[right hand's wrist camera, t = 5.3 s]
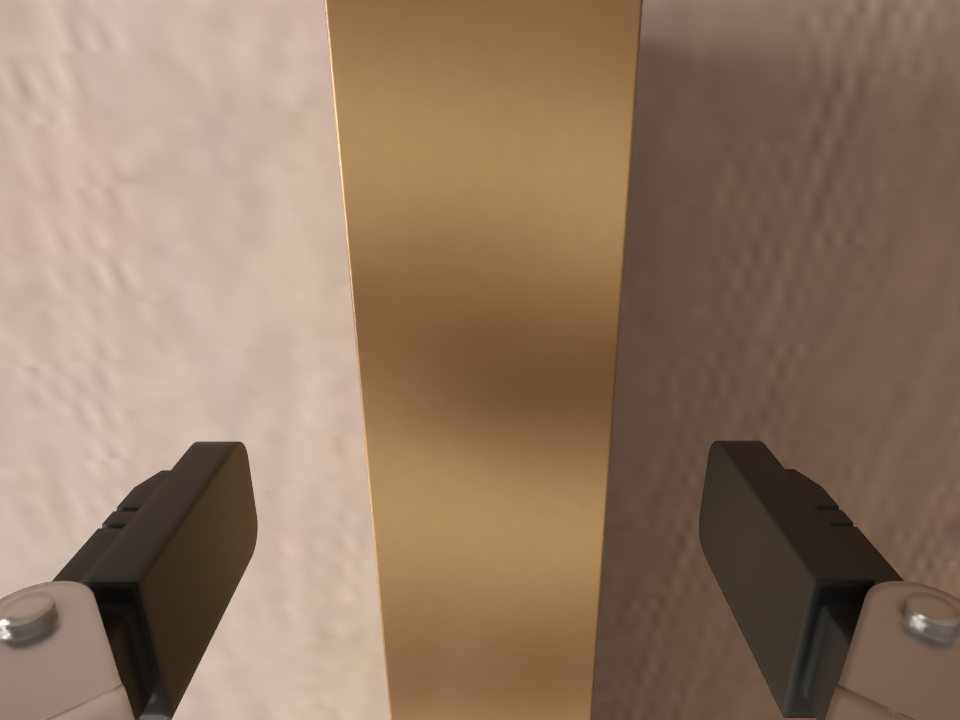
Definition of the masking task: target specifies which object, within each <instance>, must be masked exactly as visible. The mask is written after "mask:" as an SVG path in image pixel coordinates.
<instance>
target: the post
mask: <svg viewBox="0 0 960 720" xmlns="http://www.w3.org/2000/svg"><path fill="white" fill-rule="evenodd" d="M324 2H325V13H326V24H327V35H328V45H329V56H330V67H331V78H332V89H333V100H334V111H335V122H336V133H337V144H338V155H339V165H340V176H341V187H342V198H343V209H344V220H345V231H346V242H347V253H348V264H349V275H350V286H351V296H352V307H353V318H354V329H355V340H356V351H357V362H358V373H359V384H360V395H361V406H362V417H363V427H364V438H365V449H366V460H367V471H368V482H369V493H370V504H371V515H372V526H373V537H374V547H375V558H376V569H377V580H378V591H379V602H380V613H381V624H382V635H383V646H384V657H385V668H386V678H387V689H388V700H389V711H390V720H591V714H592V700H593V687H594V673H595V659H596V645H597V631H598V617H599V603H600V589H601V575H602V561H603V547H604V533H605V520H606V506H607V492H608V478H609V464H610V450H611V436H612V422H613V408H614V394H615V380H616V366H617V353H618V339H619V325H620V311H621V297H622V283H623V269H624V255H625V241H626V227H627V213H628V199H629V186H630V172H631V158H632V144H633V130H634V116H635V102H636V88H637V74H638V60H639V46H640V32H641V19H642V5H643V0H325V1H324Z"/></svg>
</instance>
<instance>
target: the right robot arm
mask: <svg viewBox="0 0 960 720" xmlns="http://www.w3.org/2000/svg"><path fill="white" fill-rule="evenodd" d="M257 526H258V525H257V514H256V507H255V501H254V494H253V487H252V481H251V474H250V467H249V460H248V454H247V450H246V448H245V446H244V444H243V443H242V442H195V443H194V444H193V445H191V447H190V448H189V449H188V450H187V452H186V453H185V454H184V455H183V456H182V458H181V459H180V460H179V461H178V462H177V464H176V465H175V466H174V467H173V469H172V470H171V471H160V472H159V473H157V474H155V475H154V476H152V477H151V478H149V479H147V480H146V481H144V482H143V483H141V484H139V485H138V486H136V487H135V488H134V489H133V490H132V491H131V492H130V493H129V494H128V495H127V497H126V498H125V499H124V500H123V501H122V502H121V503H120V505H119V506H118V507H117V511H116V512H113V513H112V514H111V515H110V516H109V517H108V518H107V519H106V520H105V522H104V523H103V524H102V529H98V530H97V531H96V532H95V533H94V534H93V535H92V536H91V537H90V539H89V540H88V541H87V542H86V543H85V544H84V545H83V547H82V548H81V549H80V550H79V551H78V552H77V553H76V555H75V556H74V557H73V558H72V559H71V560H70V561H69V562H68V564H67V565H66V566H65V567H64V568H63V569H62V570H61V572H60V573H59V574H58V575H57V576H56V577H55V578H54V580H53V581H52V582H46V583H42V584H37V585H34V586H30V587H27V588H24V589H22V590H19V591H17V592H14V593H12V594H10V595H8V596H6V597H4V598H2V599H0V720H171V719H172V717H173V715H174V713H175V711H176V709H177V707H178V705H179V703H180V701H181V699H182V697H183V695H184V693H185V691H186V689H187V687H188V685H189V683H190V681H191V679H192V677H193V675H194V673H195V671H196V669H197V667H198V665H199V663H200V661H201V659H202V657H203V655H204V653H205V651H206V649H207V647H208V645H209V643H210V641H211V638H212V636H213V634H214V632H215V630H216V628H217V626H218V624H219V622H220V620H221V618H222V616H223V614H224V612H225V610H226V608H227V606H228V604H229V602H230V600H231V598H232V596H233V594H234V592H235V590H236V588H237V586H238V584H239V582H240V580H241V578H242V576H243V574H244V572H245V570H246V568H247V566H248V564H249V562H250V560H251V557H252V555H253V552H254V549H255V545H256V540H257ZM699 532H700V540H701V545H702V549H703V552H704V555H705V557H706V559H707V561H708V563H709V565H710V567H711V569H712V571H713V573H714V576H715V578H716V580H717V582H718V584H719V586H720V588H721V590H722V592H723V594H724V596H725V598H726V600H727V602H728V604H729V606H730V608H731V610H732V612H733V614H734V616H735V619H736V621H737V623H738V625H739V627H740V629H741V631H742V633H743V635H744V637H745V639H746V641H747V643H748V645H749V647H750V649H751V651H752V653H753V655H754V657H755V660H756V662H757V664H758V666H759V668H760V670H761V672H762V674H763V676H764V678H765V680H766V682H767V684H768V686H769V688H770V690H771V692H772V694H773V696H774V698H775V700H776V703H777V705H778V707H779V709H780V711H781V713H782V715H783V717H784V718H816V719H817V720H960V599H958V598H956V597H954V596H952V595H950V594H948V593H946V592H943V591H941V590H938V589H936V588H933V587H930V586H926V585H923V584H918V583H914V582H906V581H904V580H903V579H902V578H901V577H900V576H899V575H898V574H897V572H896V571H895V570H894V569H893V568H892V567H891V566H890V564H889V563H888V562H887V561H886V560H885V559H884V558H883V556H882V555H881V554H880V553H879V552H878V551H877V550H876V548H875V547H874V546H873V545H872V544H871V543H870V542H869V540H868V539H867V538H866V537H865V536H864V535H863V533H862V532H861V531H860V530H859V529H858V528H857V527H853V522H852V521H851V520H850V519H849V517H848V516H847V515H846V514H845V513H844V512H843V511H842V510H839V506H838V505H837V504H836V503H835V501H834V500H833V499H832V498H831V497H830V496H829V495H828V493H827V492H826V491H825V490H824V489H823V488H822V486H820V485H818V484H817V483H815V482H814V481H812V480H810V479H809V478H807V477H806V476H804V475H802V474H801V473H799V472H798V471H796V470H794V469H784V468H783V466H782V465H781V464H780V463H779V461H778V460H777V459H776V458H775V457H774V455H773V454H772V453H771V452H770V450H769V449H768V448H767V447H766V445H765V444H764V443H763V442H761V441H715V442H713V444H712V445H711V448H710V451H709V456H708V463H707V470H706V476H705V483H704V490H703V497H702V504H701V511H700V518H699Z"/></svg>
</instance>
